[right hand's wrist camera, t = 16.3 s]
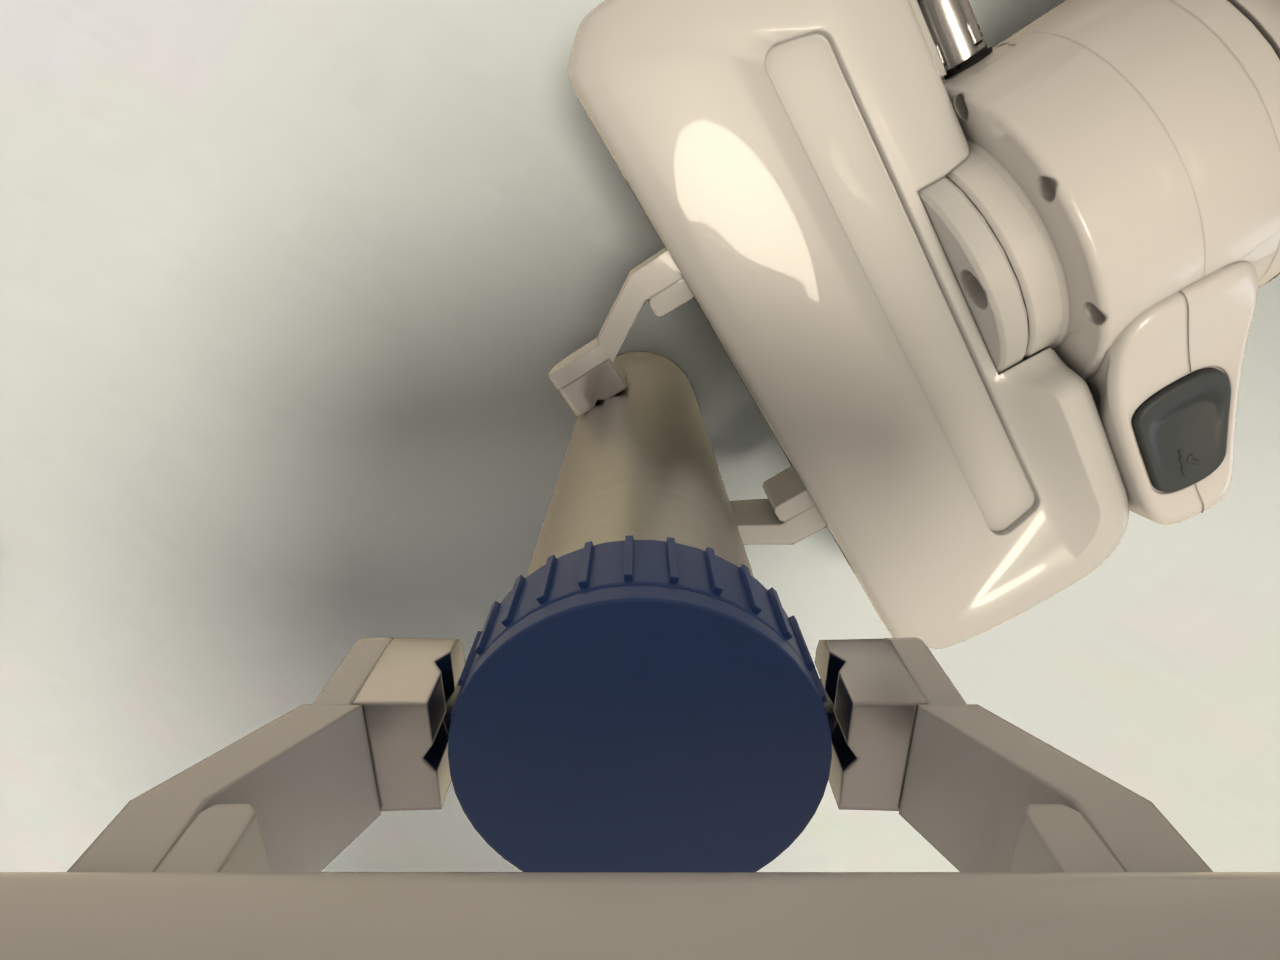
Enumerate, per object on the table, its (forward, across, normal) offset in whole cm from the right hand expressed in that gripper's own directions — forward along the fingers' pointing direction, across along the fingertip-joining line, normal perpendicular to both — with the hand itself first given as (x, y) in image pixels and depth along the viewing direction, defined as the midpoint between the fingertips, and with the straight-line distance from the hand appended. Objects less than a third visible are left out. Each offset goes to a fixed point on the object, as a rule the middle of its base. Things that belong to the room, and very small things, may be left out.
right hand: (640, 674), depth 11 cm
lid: (-2, 0, 0) cm, 2 cm away
